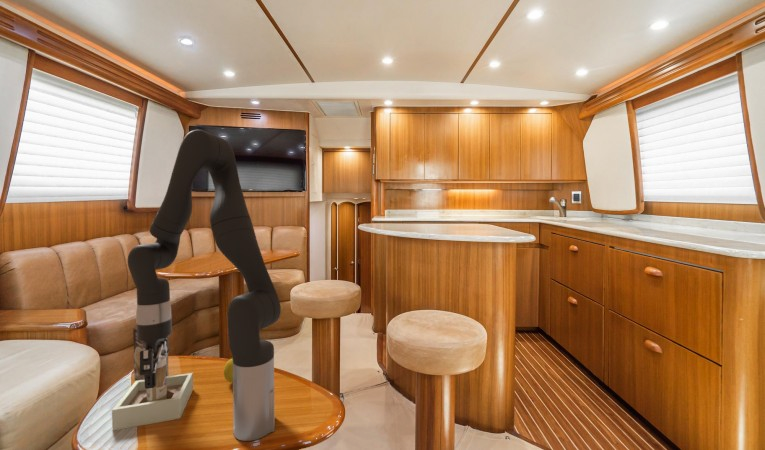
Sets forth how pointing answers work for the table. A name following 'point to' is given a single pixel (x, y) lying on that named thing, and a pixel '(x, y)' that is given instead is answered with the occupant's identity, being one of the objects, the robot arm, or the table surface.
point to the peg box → (152, 403)
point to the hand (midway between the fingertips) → (156, 379)
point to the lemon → (229, 370)
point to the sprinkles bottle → (158, 382)
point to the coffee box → (137, 348)
